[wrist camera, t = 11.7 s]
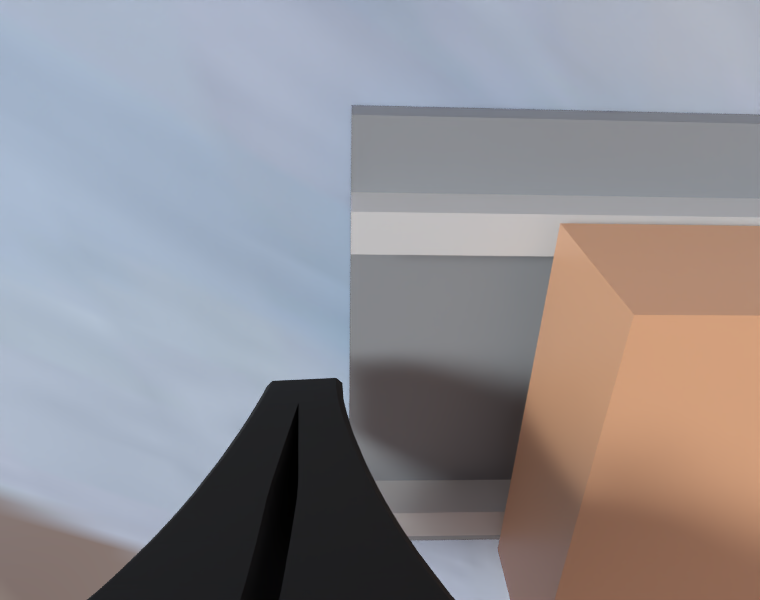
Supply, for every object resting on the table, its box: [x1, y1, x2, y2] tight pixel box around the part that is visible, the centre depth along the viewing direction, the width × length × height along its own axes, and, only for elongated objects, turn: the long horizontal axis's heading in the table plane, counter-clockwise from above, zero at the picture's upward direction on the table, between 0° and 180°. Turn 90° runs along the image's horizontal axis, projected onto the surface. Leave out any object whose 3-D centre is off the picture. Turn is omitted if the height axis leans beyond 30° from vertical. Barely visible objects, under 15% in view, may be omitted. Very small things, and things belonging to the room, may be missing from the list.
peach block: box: [498, 223, 760, 600], centre depth 11 cm, size 4×8×3 cm, turn 178°
